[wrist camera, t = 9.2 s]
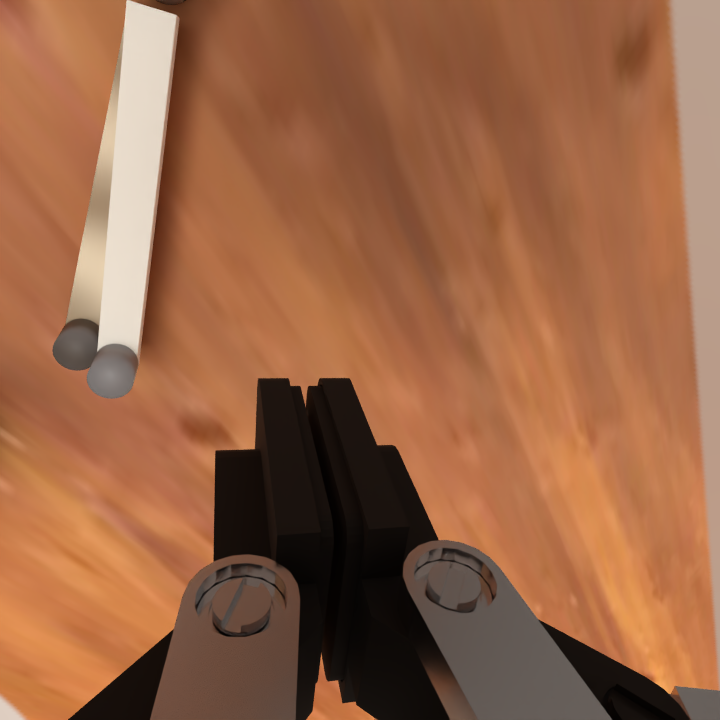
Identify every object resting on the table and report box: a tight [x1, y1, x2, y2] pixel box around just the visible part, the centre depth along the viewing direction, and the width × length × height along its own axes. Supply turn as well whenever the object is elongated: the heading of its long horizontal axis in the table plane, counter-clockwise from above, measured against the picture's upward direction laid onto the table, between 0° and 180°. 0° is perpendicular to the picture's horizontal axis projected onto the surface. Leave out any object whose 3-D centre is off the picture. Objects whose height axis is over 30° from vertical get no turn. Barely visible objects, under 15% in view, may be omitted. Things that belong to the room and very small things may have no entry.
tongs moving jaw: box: [87, 0, 180, 398], centre depth 28 cm, size 18×2×4 cm, turn 165°
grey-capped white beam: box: [53, 0, 186, 370], centre depth 28 cm, size 22×3×6 cm, turn 159°
